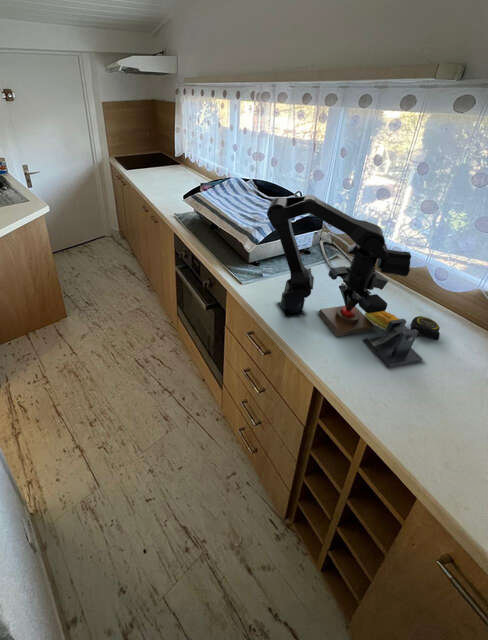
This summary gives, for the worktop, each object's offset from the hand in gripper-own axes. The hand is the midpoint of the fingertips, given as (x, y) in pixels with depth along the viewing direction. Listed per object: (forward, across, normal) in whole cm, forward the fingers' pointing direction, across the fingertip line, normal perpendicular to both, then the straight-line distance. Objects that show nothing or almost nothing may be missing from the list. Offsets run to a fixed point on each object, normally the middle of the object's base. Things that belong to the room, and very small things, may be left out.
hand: (348, 309), depth 94 cm
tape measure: (+5, -9, -20) cm, 23 cm away
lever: (0, -13, -3) cm, 13 cm away
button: (+2, 0, 0) cm, 2 cm away
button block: (+5, 0, 0) cm, 5 cm away
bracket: (+5, -13, -6) cm, 15 cm away
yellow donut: (0, -4, -10) cm, 11 cm away
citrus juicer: (+2, +27, -17) cm, 32 cm away
